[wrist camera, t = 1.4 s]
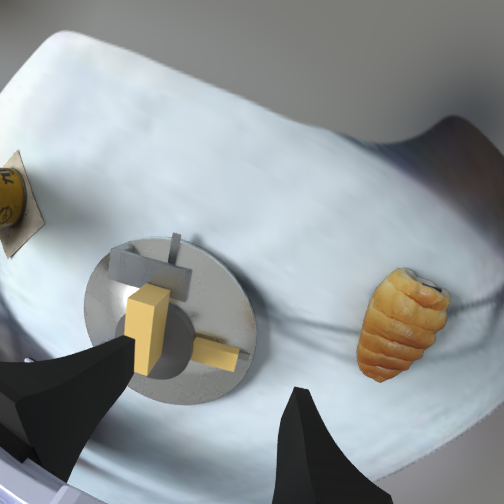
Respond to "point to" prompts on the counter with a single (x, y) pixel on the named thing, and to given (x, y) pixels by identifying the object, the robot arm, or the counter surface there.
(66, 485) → the robot arm
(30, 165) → the counter surface
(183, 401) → the post plate
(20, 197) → the condiment
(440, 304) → the pastry
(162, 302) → the multicoloured piece
